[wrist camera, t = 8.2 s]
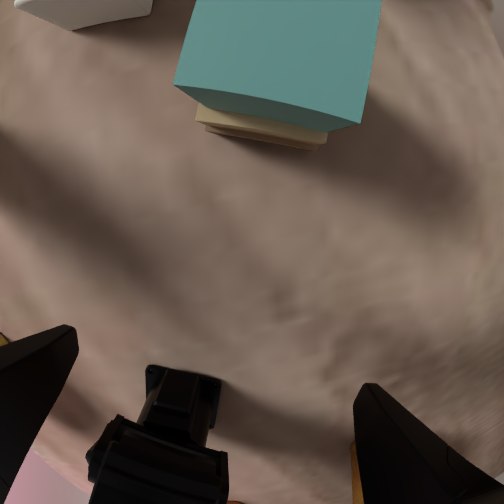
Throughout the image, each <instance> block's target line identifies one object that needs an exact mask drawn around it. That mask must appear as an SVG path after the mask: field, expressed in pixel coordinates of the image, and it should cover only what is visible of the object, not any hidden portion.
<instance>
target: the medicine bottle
mask: <svg viewBox="0 0 504 504" xmlns="http://www.w3.org/2000/svg"><path fill="white" fill-rule="evenodd" d="M152 3H153V0H15V4H14V6H15V7H16V8H18V9H20V10H23V11H25V12H27V13H30V14H32V15H34V16H37V17H39V18H41V19H44V20H46V21H48V22H50V23H53V24H55V25H57V26H59V27H61V28H63V29H65V30H67V31H71V30H75V29H79V28H83V27H87V26H92V25H96V24H101V23H106V22H111V21H116V20H122V19H128V18H134V17H141V16H147V15H149V14H150V12H151V8H152Z"/></svg>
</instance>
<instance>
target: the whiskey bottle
mask: <svg viewBox="0 0 504 504" xmlns="http://www.w3.org/2000/svg"><path fill="white" fill-rule="evenodd" d="M227 504H242V503H239V502H234V501H227Z"/></svg>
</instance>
